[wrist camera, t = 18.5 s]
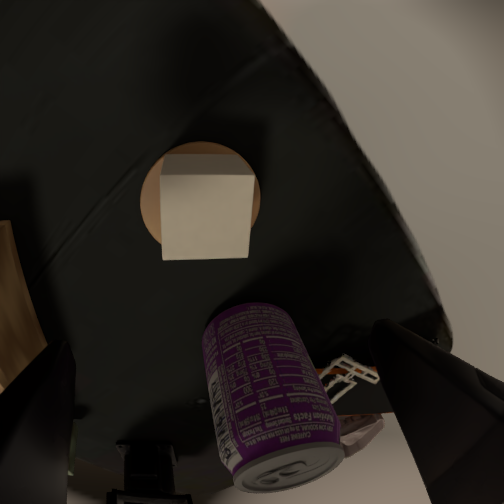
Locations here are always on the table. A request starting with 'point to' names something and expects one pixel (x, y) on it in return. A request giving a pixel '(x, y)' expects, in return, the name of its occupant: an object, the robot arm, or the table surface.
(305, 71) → the table surface
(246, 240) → the block
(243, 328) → the beverage can
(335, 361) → the model
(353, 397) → the smartphone
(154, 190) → the coaster
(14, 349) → the cabinet
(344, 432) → the dental mold
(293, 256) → the table surface
